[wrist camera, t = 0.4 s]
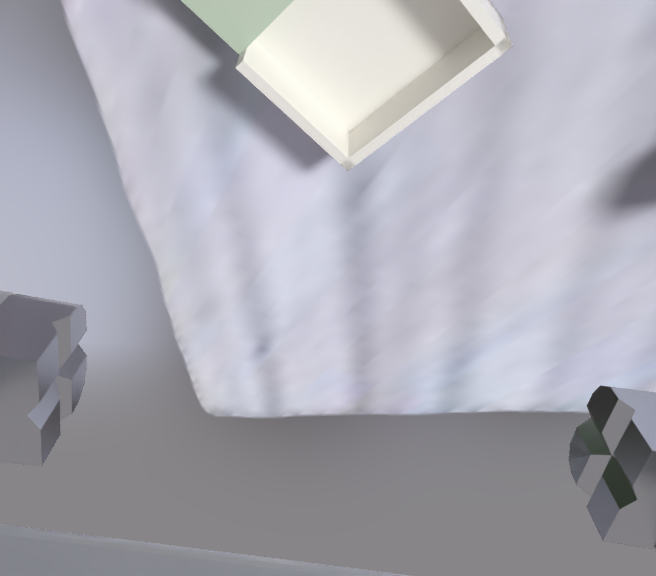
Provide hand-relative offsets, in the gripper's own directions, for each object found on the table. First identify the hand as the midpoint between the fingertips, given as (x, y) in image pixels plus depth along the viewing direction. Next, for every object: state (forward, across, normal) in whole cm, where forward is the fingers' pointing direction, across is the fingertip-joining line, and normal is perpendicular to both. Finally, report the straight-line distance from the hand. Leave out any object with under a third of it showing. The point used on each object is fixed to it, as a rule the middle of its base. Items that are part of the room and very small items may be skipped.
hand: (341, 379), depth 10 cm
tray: (+52, -3, -1) cm, 52 cm away
